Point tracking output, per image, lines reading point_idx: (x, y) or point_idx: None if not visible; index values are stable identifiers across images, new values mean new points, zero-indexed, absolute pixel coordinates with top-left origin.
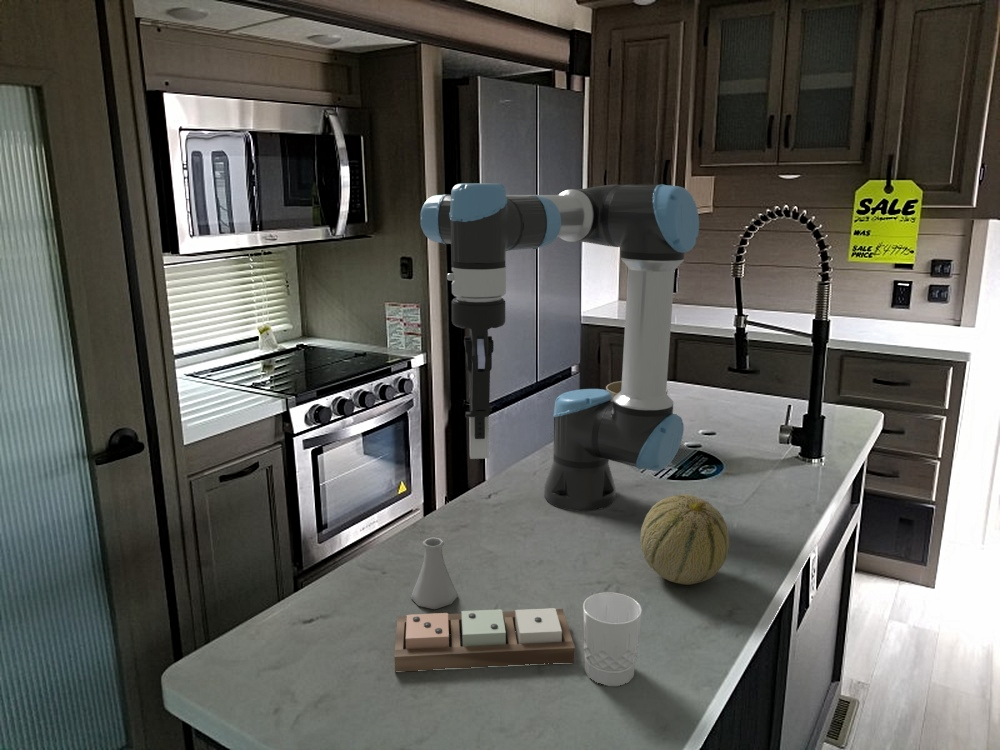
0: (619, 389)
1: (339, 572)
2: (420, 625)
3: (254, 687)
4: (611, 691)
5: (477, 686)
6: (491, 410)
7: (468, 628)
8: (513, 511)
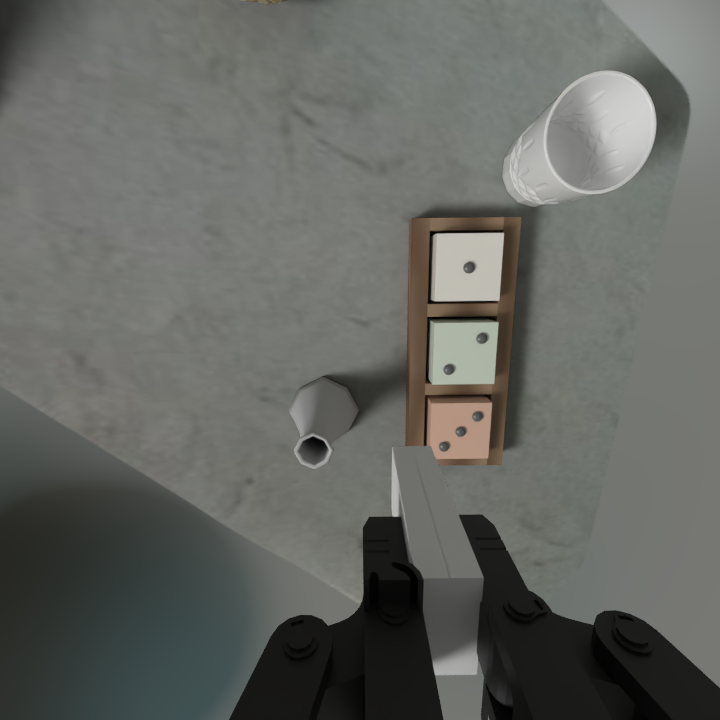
0: None
1: (248, 538)
2: (459, 440)
3: None
4: None
5: (536, 356)
6: (412, 568)
7: (479, 375)
8: (2, 261)
